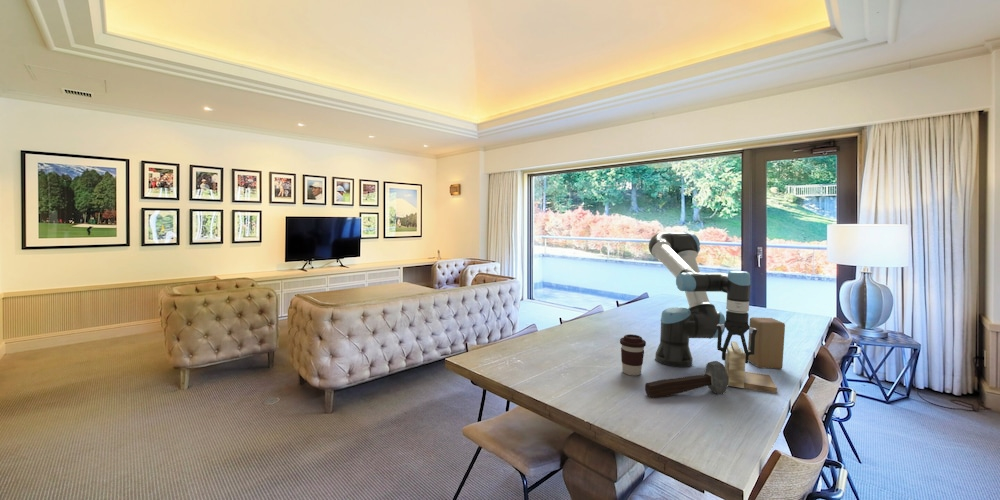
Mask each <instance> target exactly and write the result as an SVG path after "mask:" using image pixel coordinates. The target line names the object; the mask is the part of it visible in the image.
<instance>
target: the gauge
mask: <svg viewBox="0 0 1000 500" xmlns="http://www.w3.org/2000/svg"><path fill="white" fill-rule="evenodd" d="M742 348H743V347H741V348H740V347H739V343H738V341H731V340H730V346H728V348H727V350H726V351H727V352H728V363H727V370H726V371H727V374H728V380H729V382H728V386H729V387H733V388H735V387H736V388H741V389H745V388H744V376H745V371H746V363H745V358H746V354H745V352H744V349H742ZM728 386H727V387H728Z"/></svg>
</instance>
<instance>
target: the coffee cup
mask: <svg viewBox="0 0 1000 500" xmlns="http://www.w3.org/2000/svg"><path fill="white" fill-rule="evenodd" d="M646 343H647V342H646V340H645V339H643V338H642V336H641V335H637V334H631V333H630V334H625V335H624V336H623V337H621V338H620V340H619V344H620V345H621V347H620V352H621V354H620V355H621V359H620V360H621V367H622V369H621V370H622V372H623V373H624V374H625V375H629V376H634V377H636V376H640V375H641V374H642V368H643V363H644V356H645V347H646V345H647V344H646Z"/></svg>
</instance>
